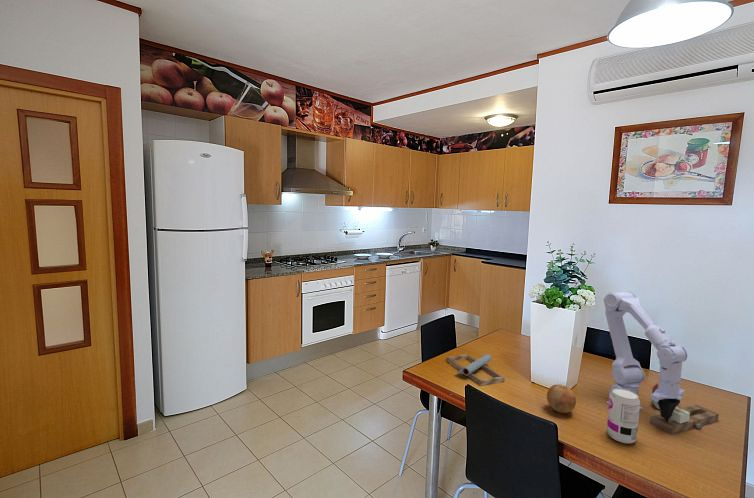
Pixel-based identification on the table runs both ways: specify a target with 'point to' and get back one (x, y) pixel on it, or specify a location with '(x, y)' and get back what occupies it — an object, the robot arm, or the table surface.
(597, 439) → the table surface
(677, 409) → the rider
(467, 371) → the aluminum foil
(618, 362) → the robot arm
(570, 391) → the onion
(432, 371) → the table surface
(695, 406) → the wooden slotted frame
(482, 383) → the foil cradle
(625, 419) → the supplement can
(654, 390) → the canned food
